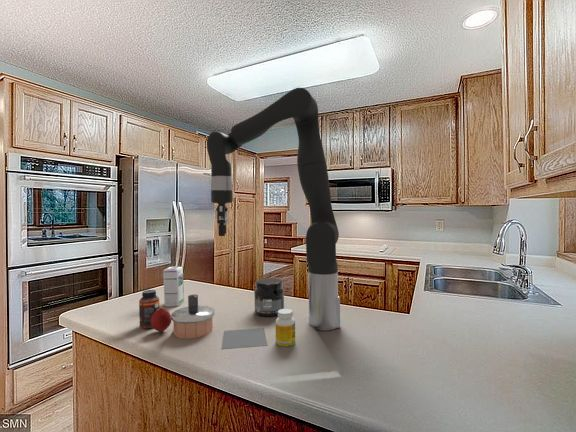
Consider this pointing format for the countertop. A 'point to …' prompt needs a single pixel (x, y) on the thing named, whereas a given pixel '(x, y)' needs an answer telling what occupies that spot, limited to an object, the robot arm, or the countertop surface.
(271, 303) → the supplement container
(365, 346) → the countertop surface
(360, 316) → the countertop surface
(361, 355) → the countertop surface
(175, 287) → the syrup box
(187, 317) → the lid
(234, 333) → the mat
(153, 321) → the onion
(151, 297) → the supplement bottle
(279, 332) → the supplement bottle
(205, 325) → the bowl
